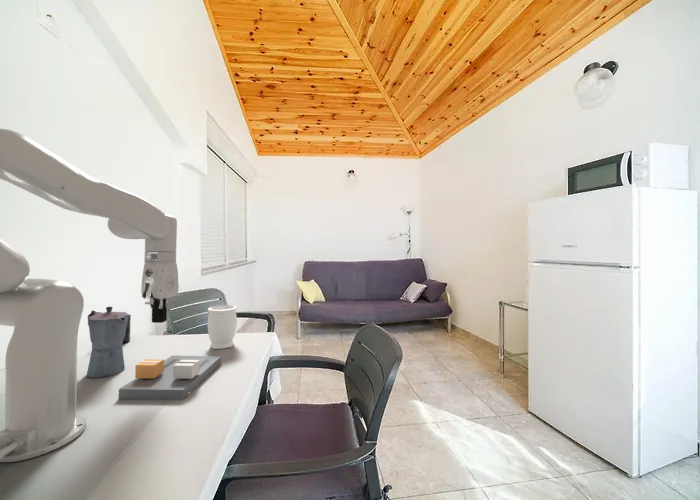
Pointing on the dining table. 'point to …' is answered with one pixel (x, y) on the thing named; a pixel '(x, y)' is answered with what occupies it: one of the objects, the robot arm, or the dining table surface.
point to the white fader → (186, 369)
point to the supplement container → (127, 331)
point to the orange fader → (149, 368)
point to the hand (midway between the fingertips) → (159, 321)
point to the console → (169, 380)
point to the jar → (222, 326)
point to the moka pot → (106, 342)
